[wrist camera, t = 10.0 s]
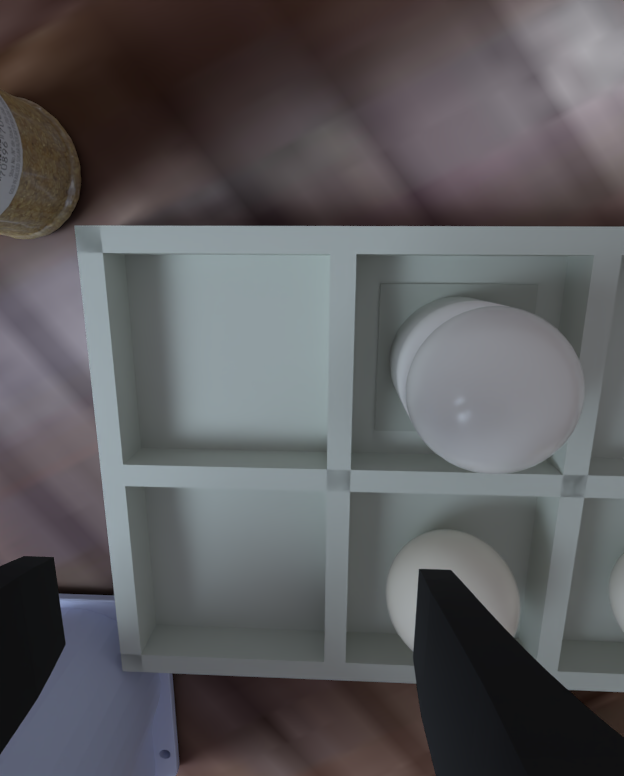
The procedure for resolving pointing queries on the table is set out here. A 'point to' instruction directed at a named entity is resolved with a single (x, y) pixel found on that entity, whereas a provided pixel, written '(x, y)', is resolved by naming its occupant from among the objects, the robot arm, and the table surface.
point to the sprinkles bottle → (34, 170)
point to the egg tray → (335, 443)
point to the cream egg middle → (469, 564)
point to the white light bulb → (487, 383)
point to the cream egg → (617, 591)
